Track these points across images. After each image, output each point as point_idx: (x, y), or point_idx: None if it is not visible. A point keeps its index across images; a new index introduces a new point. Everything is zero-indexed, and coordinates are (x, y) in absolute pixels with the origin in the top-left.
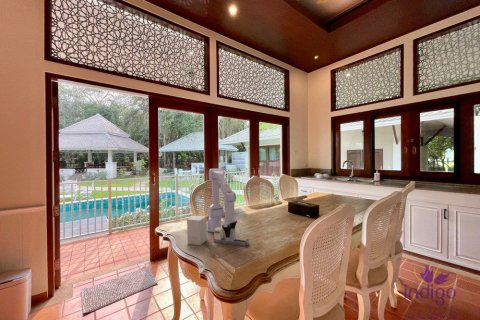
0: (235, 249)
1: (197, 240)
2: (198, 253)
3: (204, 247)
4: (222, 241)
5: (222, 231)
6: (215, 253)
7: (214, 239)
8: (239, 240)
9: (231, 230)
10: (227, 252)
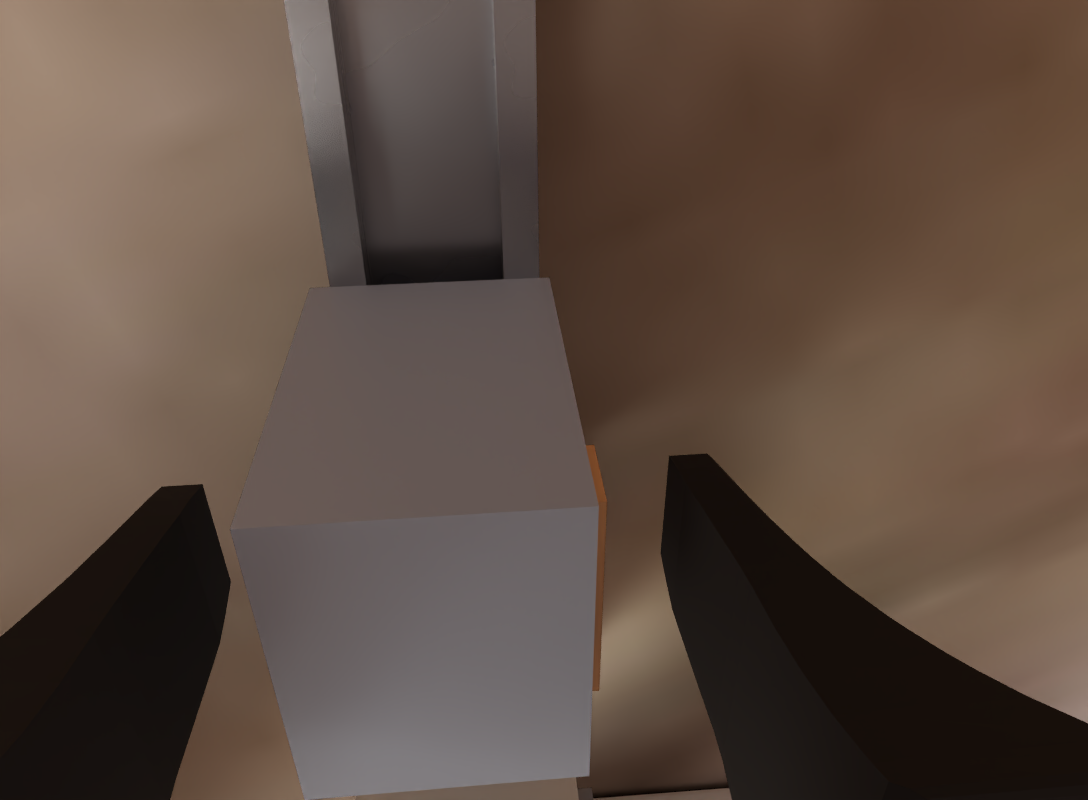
0: (836, 44)
1: None
2: (1069, 672)
3: None
4: None
5: (395, 796)
6: (1084, 431)
7: None
8: (342, 109)
9: (497, 608)
10: (1040, 198)
